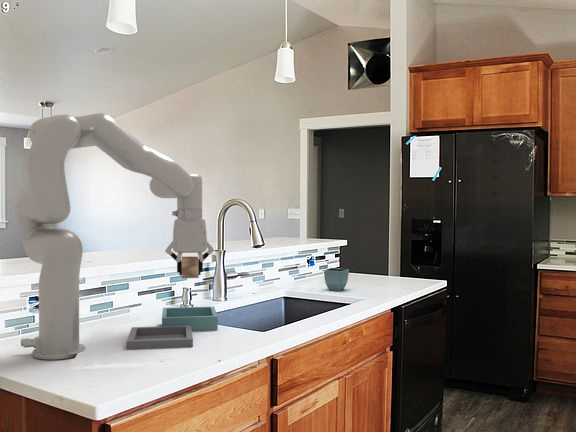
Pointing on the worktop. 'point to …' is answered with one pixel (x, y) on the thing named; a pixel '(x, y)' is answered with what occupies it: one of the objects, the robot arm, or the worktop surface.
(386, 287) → the worktop surface
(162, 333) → the bin
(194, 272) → the oak block
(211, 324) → the tray
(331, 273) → the flower pot
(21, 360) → the worktop surface
